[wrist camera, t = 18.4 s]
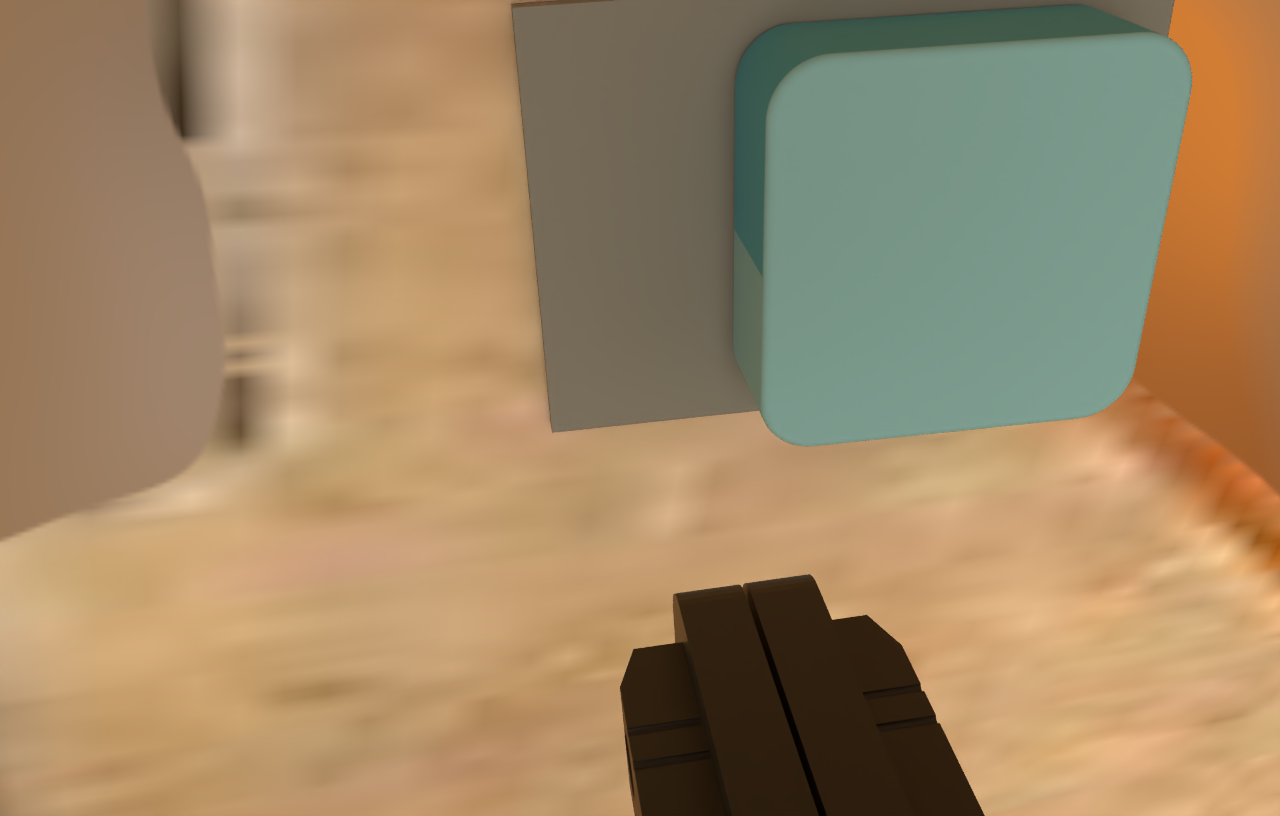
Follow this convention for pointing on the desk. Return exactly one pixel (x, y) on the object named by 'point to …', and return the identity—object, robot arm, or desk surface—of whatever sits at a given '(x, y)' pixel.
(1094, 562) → the desk surface
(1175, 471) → the desk surface
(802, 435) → the data package
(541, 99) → the mat
